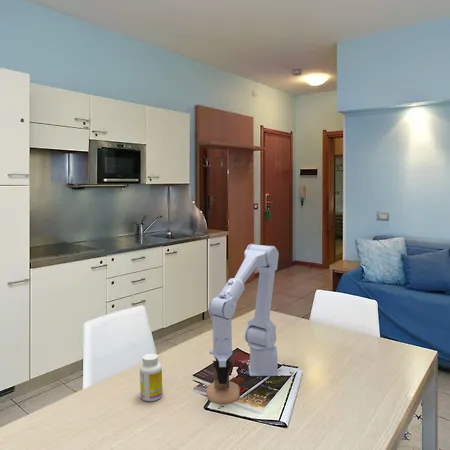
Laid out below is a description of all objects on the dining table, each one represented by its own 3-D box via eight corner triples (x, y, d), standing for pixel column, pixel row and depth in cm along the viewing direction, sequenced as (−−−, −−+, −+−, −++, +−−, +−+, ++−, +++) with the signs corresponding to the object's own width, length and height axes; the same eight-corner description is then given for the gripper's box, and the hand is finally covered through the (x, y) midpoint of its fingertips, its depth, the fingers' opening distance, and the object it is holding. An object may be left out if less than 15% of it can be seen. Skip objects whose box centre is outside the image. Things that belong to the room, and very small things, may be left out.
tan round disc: (238, 387, 135) (238, 380, 134) (240, 404, 125) (240, 396, 124) (207, 388, 134) (206, 381, 134) (206, 405, 124) (206, 397, 124)
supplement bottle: (166, 393, 131) (165, 353, 130) (156, 403, 125) (154, 362, 124) (147, 389, 133) (146, 351, 132) (136, 400, 127) (135, 359, 126)
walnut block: (229, 381, 131) (228, 362, 130) (229, 388, 127) (228, 369, 126) (214, 381, 131) (214, 363, 131) (214, 388, 127) (213, 369, 126)
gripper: (209, 328, 134) (210, 368, 136) (208, 346, 120) (209, 391, 122) (231, 328, 135) (232, 368, 136) (232, 345, 120) (233, 391, 122)
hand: (222, 379), depth 129 cm, fingers closed on walnut block, 4 cm apart
